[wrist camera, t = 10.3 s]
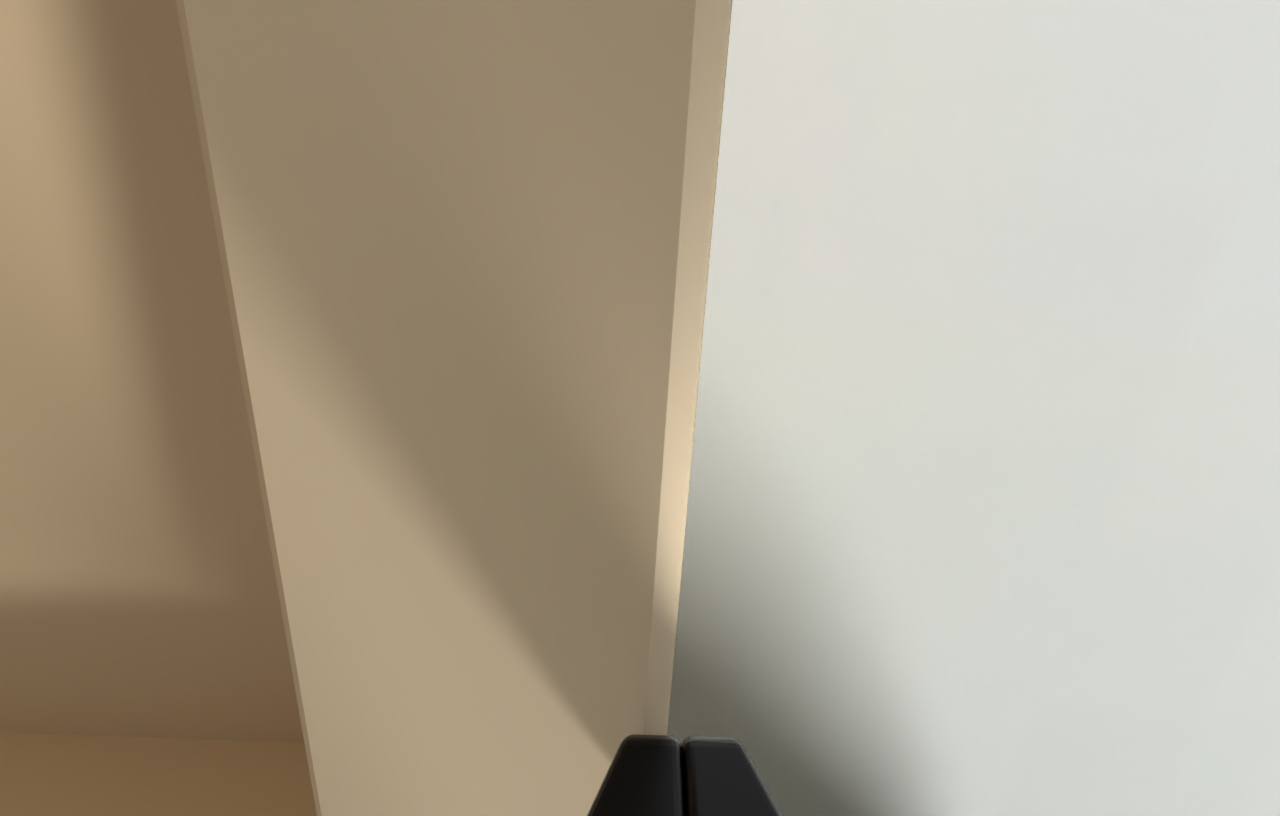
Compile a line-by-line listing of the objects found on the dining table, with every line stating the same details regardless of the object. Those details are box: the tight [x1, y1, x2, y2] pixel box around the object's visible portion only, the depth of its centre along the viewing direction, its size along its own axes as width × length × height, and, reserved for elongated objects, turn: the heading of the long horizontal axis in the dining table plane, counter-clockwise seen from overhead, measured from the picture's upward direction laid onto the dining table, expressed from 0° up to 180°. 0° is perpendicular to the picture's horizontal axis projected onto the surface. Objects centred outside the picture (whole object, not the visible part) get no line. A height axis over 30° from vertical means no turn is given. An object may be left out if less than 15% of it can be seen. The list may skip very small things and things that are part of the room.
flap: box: [184, 0, 732, 816], centre depth 10 cm, size 1×17×4 cm
